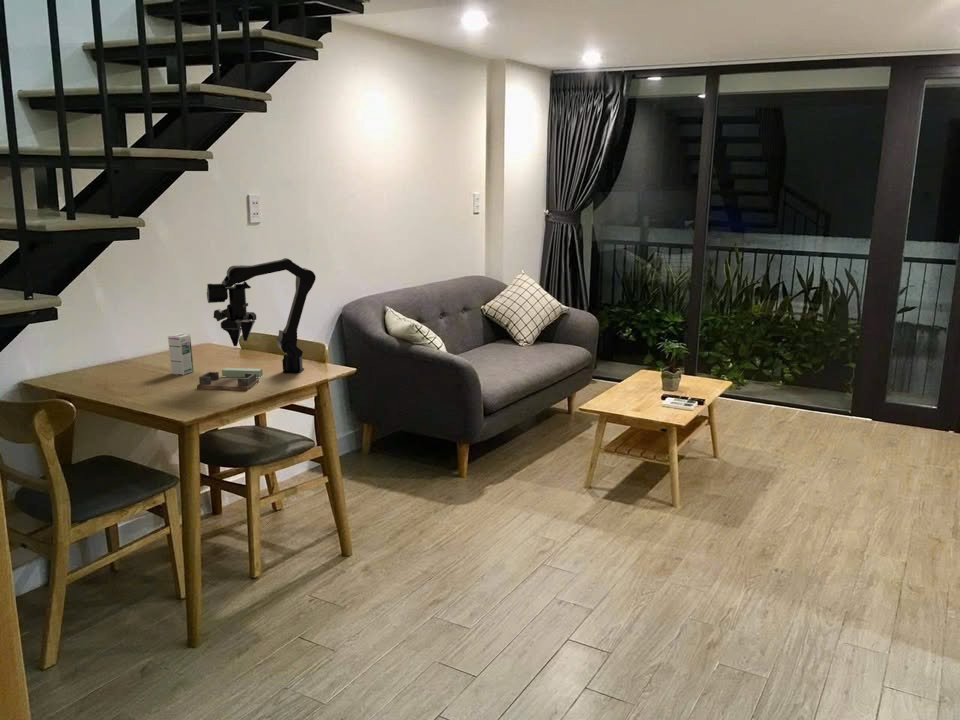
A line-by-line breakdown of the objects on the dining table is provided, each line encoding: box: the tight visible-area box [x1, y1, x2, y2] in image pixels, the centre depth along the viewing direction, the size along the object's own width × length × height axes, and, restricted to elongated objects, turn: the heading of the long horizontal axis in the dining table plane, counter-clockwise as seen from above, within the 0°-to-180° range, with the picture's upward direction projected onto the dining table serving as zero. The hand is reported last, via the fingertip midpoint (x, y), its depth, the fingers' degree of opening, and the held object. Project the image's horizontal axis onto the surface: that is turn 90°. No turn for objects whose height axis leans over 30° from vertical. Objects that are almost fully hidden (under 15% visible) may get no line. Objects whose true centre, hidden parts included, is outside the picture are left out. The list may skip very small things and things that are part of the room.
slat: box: [221, 367, 264, 378], centre depth 296 cm, size 14×4×3 cm, turn 86°
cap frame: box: [196, 371, 260, 391], centre depth 283 cm, size 18×11×4 cm, turn 85°
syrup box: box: [167, 332, 194, 376], centre depth 299 cm, size 6×6×14 cm
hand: (240, 343), depth 294 cm, fingers open, 9 cm apart
